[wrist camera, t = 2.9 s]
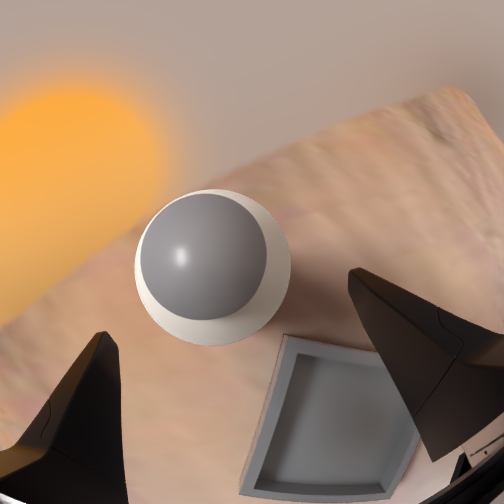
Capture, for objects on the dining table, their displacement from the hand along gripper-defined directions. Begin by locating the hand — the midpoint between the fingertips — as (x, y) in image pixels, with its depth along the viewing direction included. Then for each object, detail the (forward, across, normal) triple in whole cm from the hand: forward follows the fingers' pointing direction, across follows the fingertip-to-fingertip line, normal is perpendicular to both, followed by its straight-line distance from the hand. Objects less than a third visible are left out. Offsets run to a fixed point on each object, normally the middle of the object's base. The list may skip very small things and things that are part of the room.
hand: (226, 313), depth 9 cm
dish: (-1, -5, +14) cm, 15 cm away
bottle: (+8, 0, +5) cm, 9 cm away
